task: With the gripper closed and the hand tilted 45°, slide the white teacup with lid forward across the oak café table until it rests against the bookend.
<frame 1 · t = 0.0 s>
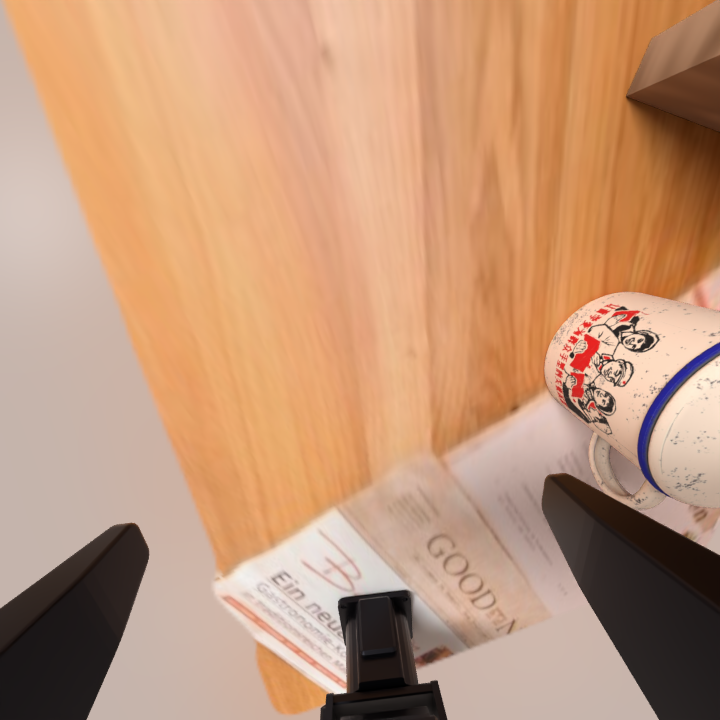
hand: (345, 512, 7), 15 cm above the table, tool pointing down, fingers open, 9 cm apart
teacup with lid: (593, 372, 24), on the table
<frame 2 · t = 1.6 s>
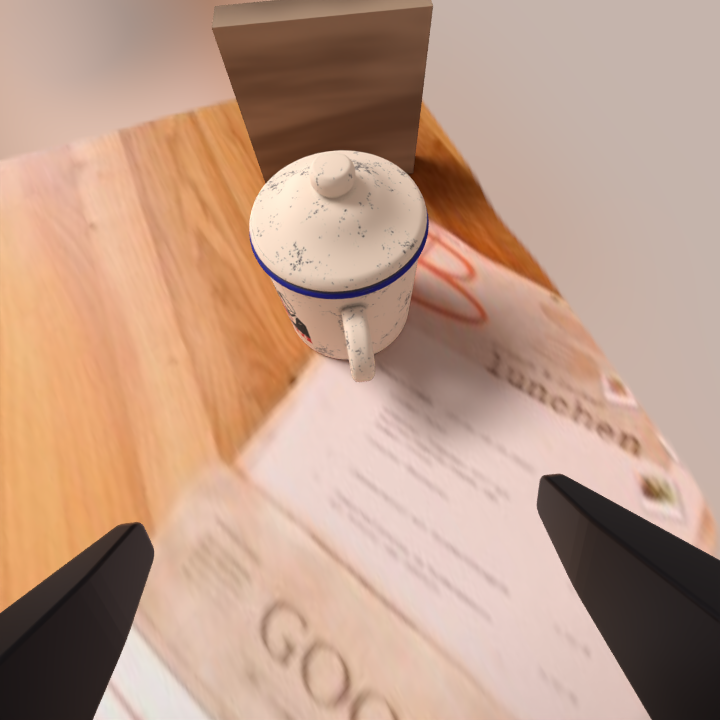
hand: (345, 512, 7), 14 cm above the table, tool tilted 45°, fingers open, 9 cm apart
bookend: (339, 170, 30), on the table
teacup with lid: (352, 326, 25), on the table
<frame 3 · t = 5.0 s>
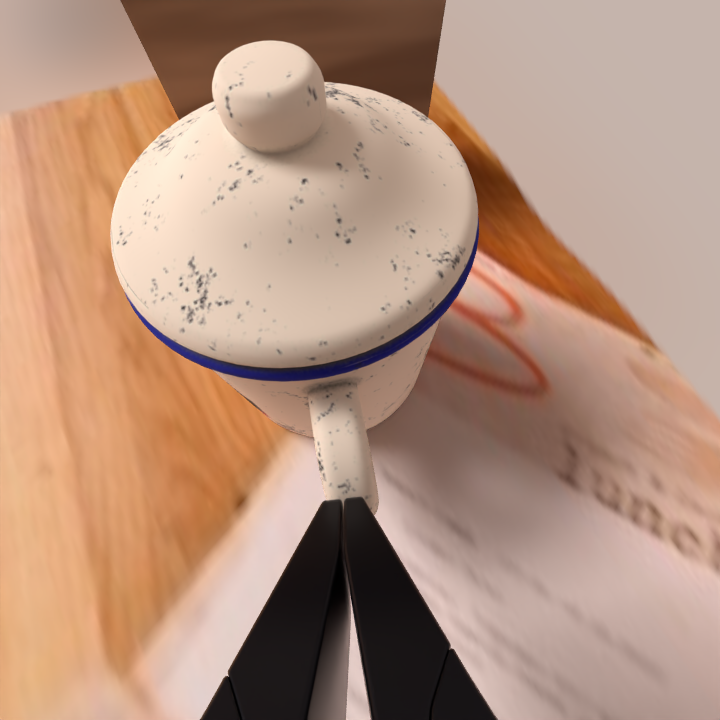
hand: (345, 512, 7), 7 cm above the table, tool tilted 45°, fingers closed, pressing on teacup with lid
bookend: (316, 164, 22), on the table
teacup with lid: (337, 379, 16), on the table, touching gripper
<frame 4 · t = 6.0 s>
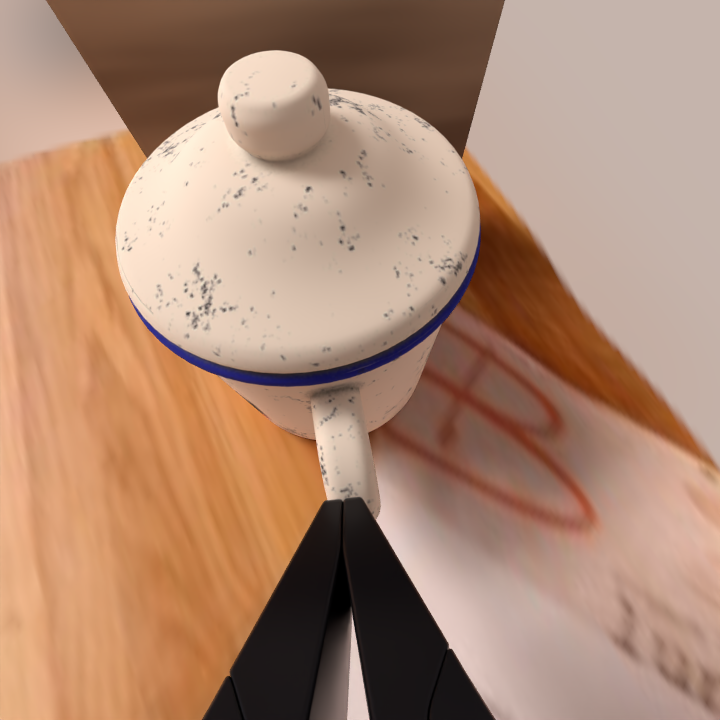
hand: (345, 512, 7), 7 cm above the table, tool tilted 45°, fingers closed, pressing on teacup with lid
bookend: (325, 231, 20), on the table
teacup with lid: (338, 382, 16), on the table, touching gripper
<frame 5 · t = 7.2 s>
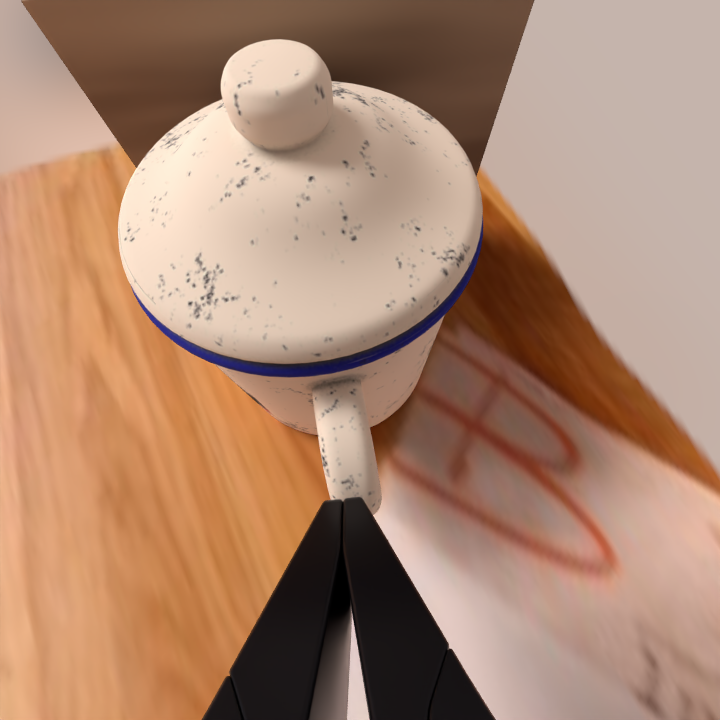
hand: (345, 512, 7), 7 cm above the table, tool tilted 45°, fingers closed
bookend: (331, 249, 19), on the table
teacup with lid: (339, 377, 16), on the table
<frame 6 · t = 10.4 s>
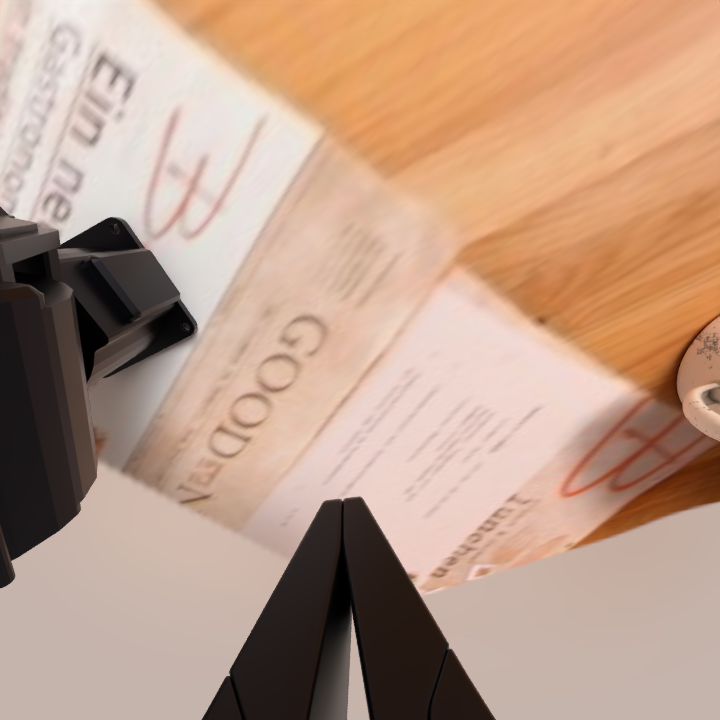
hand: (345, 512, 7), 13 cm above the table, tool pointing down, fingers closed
teacup with lid: (714, 363, 22), on the table
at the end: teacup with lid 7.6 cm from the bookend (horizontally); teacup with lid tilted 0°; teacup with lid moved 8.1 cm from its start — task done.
